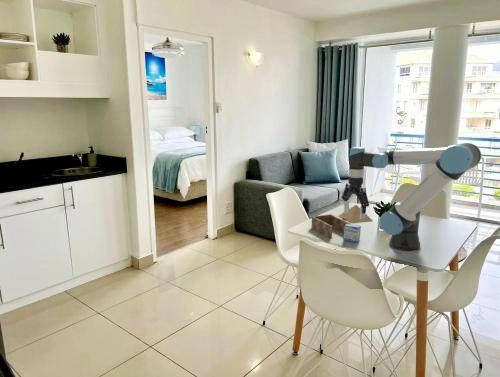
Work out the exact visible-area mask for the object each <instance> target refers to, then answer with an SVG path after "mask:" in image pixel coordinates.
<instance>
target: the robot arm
mask: <svg viewBox="0 0 500 377" xmlns="http://www.w3.org/2000/svg"><path fill="white" fill-rule="evenodd" d="M348 157H349V160H348V162H349V165H348V183H345V185H344V186H345V187H344V190H343V192H342V195H341V200H343V213H347V212H349V209H350V199H351V197H352V196H353V195H355V196H356V197H357V199H358V201H359V203H360V206H359V208H360V219H365V214H367V207H370V203H369V200H368V194H367V188H366V187H362V185H363V184H364V170H365V167H366V168H367V167H368V168H376V169H385V168H386V167H387V166H390V165H391V166H395V165H434V169H432V170H431V171H430V172H429V174H428V175H426V176H425V177H424V179H422V180H421V182H419V183H418V185H416V187H415V188H414V189H413V190H412V191H411V192H410V193H409V194H408V195H407V196H406V197H405V198H404V199H403V200H402V201H397V202H396V203H395V204H394V205H392V206H391V208H390V209H389V210H388V211H386V212H383V214H381V216H380V217H379V225H380V227H381V229H382V231H383V232H384V233H386V234H387V235H390V236H391V237H390V239H389V242H388V244H389V246H390V247H391V248H393V249H397V250H400V251H405V252H407V251H408V252H414V251H415V252H416V251H419V250H420V249H421V241H420V235H419V229H420V228H419V226H420V219H421V212H422V210H423V208H424V207H425V206H427V204H428V203H429V202H430V201H431V200H433V198H435V197H436V196H437V195H438V194H439V193H440V192H441V191H442V190H443V189H444V188H445V187H446V186H447V185H448V184H449V183H450V182H451V181H457V180H459V178H461V177H462V176H463V175H464V174H465V173H466V172H468V170H470V169H473V168H474V167H476V166H477V165H478V164H480V162H481V159H482V152H481V149H480V148H479V147H478V146H477V145H475V144H473V143H470V142H464V143H458V144H452V145H449V146H448V147H438V148H437V147H435V148H412V149H411V148H410V149H409V148H408V149H386V150H381V151H376V152H372V151H370V152H369V151H366V149H365V147H363V146H352V147H351V148H350V149H349V155H348Z"/></svg>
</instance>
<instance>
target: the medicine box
mask: <svg viewBox="0 0 500 377" xmlns="http://www.w3.org/2000/svg"><path fill="white" fill-rule="evenodd" d="M360 239H361V225H356V224H353V223H352V224H346V225H345V229H344V233H343V242H345V241H346V242H351V243H357V244H358V243H359V242H360V241H361V240H360Z"/></svg>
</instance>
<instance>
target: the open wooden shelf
mask: <svg viewBox="0 0 500 377" xmlns="http://www.w3.org/2000/svg"><path fill="white" fill-rule="evenodd" d="M346 224H351V223H349V222H347V221H346V220H343V219H342V218H340V217H338V216H335V215H333V214H331V213H329V214H322V215H315V216H311V229H313V230H314V231H316V230H317V232H318V231H319V232H318V233H320V232H321V233H320V234H322V235H324V236H325V235H326V237H327V238H329V239H333V228H334V229H335V230H337V231H339V232H342V233H343V234H344V229H345V225H346Z"/></svg>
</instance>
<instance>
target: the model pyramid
mask: <svg viewBox="0 0 500 377" xmlns="http://www.w3.org/2000/svg"><path fill="white" fill-rule="evenodd" d="M337 217H338V218H340V219H342V220H344V221H346V222H348V223H352V224H359V223H361V224H362V223H369V222H374V221H373V219H372V218H371V217H369V216H368V214H367V213H365V219H360V206H359V205H357V204H355V205H353V206H351V207H349V212H347V213H344V212H342V213H341V214H339V215H338V216H337Z"/></svg>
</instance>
